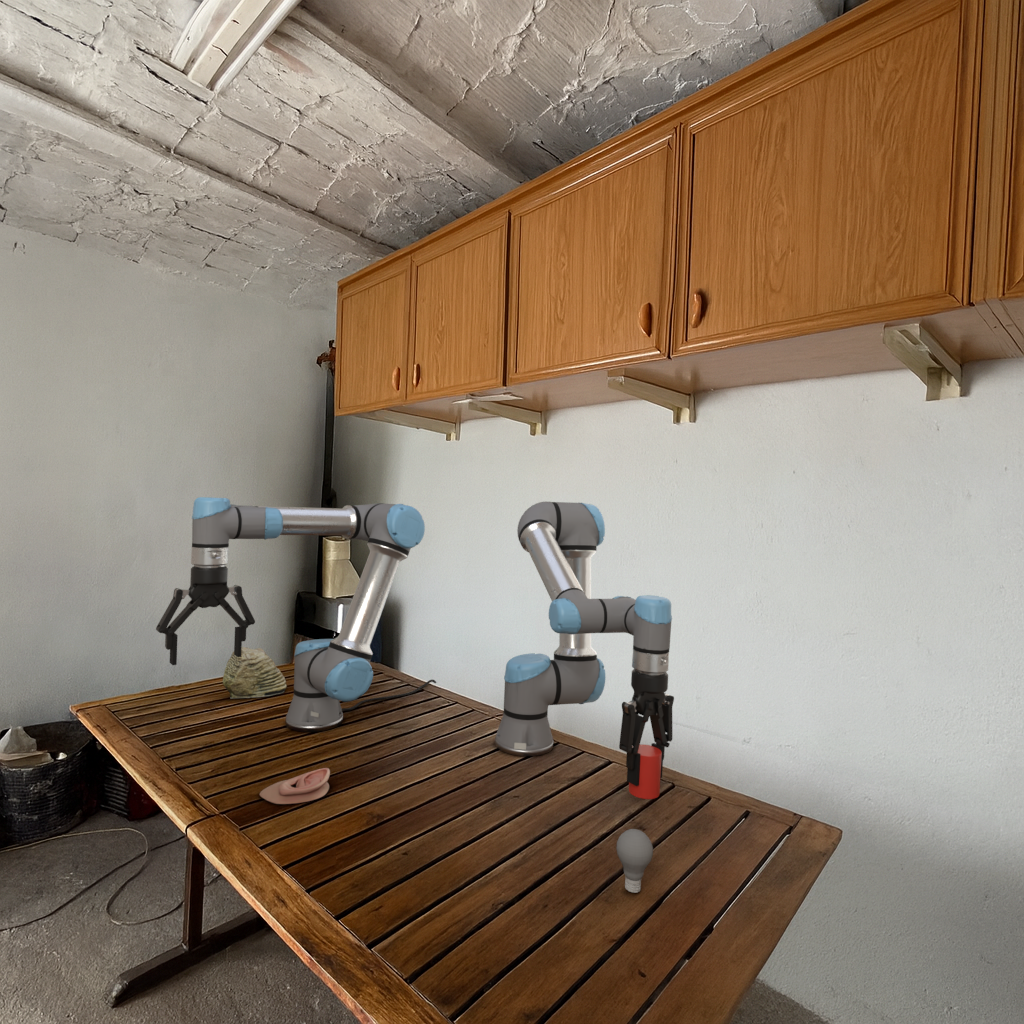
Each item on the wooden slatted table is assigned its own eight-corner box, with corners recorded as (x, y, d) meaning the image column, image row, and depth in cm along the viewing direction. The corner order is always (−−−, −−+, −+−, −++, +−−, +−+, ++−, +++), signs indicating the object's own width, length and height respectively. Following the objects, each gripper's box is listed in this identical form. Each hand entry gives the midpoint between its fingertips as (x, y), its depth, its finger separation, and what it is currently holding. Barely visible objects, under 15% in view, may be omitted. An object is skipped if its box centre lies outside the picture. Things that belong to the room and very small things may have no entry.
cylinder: (622, 788, 134) (624, 747, 134) (645, 783, 138) (647, 742, 137) (642, 801, 129) (644, 758, 129) (666, 795, 132) (668, 753, 132)
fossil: (218, 695, 195) (220, 647, 195) (278, 685, 208) (279, 640, 207) (228, 703, 189) (230, 653, 188) (289, 692, 201) (290, 645, 201)
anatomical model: (251, 781, 130) (282, 759, 142) (250, 800, 131) (281, 776, 142) (310, 789, 128) (337, 767, 139) (309, 809, 128) (336, 784, 139)
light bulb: (610, 879, 108) (613, 822, 108) (644, 879, 109) (647, 822, 109) (619, 902, 102) (622, 840, 102) (655, 901, 103) (658, 840, 103)
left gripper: (150, 569, 131) (147, 671, 132) (271, 565, 148) (268, 655, 148) (143, 565, 137) (139, 663, 137) (259, 562, 153) (256, 649, 154)
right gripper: (630, 681, 124) (625, 797, 124) (694, 669, 135) (688, 776, 136) (604, 671, 130) (598, 782, 131) (666, 661, 141) (661, 763, 142)
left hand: (206, 659), depth 143 cm, fingers open, 13 cm apart
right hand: (644, 779), depth 133 cm, fingers closed on cylinder, 6 cm apart
